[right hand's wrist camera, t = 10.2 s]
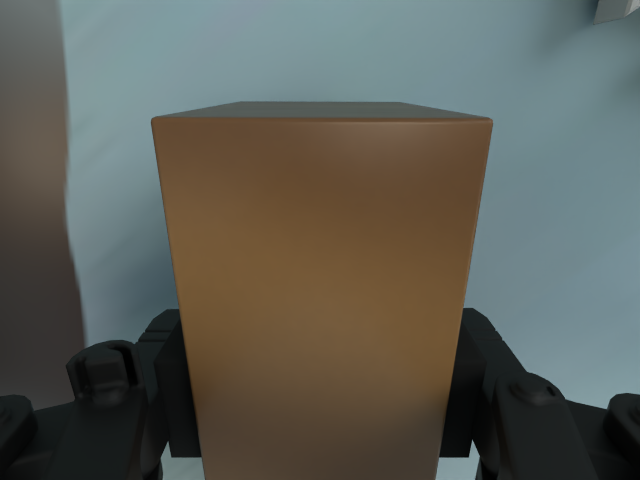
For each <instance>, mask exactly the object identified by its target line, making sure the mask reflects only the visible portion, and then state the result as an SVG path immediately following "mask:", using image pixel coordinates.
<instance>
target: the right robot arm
mask: <svg viewBox="0 0 640 480" xmlns="http://www.w3.org/2000/svg"><path fill="white" fill-rule="evenodd" d="M66 368H67V372H68V375H69V379H70V382H71V385H72V389H73V392H74V396H75V400H74V401H73V402H70V403H67V404H63V405H58V406H54V407H49V408H45V409H40V410H36V411H34V409H33V407H32V404H31V401H30V400H29V399H27V398H26V397H25V396H20V395H8V396H1V397H0V480H162V479H163V470H162V463H161V456H162V453H163V451H164V449H165V446H166V444H167V442H169V447H170V452H171V457H202V456H201V449H200V442H199V436H198V429H197V423H196V416H195V410H194V403H193V396H192V390H191V383H190V377H189V370H188V363H187V357H186V350H185V344H184V337H183V330H182V324H181V317H180V311H179V309H167V310H166V311H164V312H163V313H161V314H160V315H158V316H157V317H155V318H154V319H153V320H152V321H151V323H150V324H149V326H148V327H147V328H146V330H145V332H143V334H142V335H141V337H140V338H139V339H138V342H136V344H135V345H134V344H133V343H132V342H129V341H124V340H111V341H106V342H102V343H98V344H95V345H93V346H90V347H88V348H86V349H84V350H82V351H81V352H79V353H78V354H76V355H75V356H73V357H72V358H71V360H70V361H69V362H68V363H67V365H66ZM472 439H473V442H474V444H475V446H476V448H477V451H478V453H479V455H480V458H479V463H478V468H477V473H476V478H475V480H640V395H638V394H631V393H623V394H616V395H615V396H614V397H613V398H611V399H610V402H609V405H608V408H607V409H603V408H598V407H594V406H589V405H585V404H581V403H576V402H573V401H569V400H566V399H565V397H564V396H563V395H562V393H561V392H560V390H559V389H558V388H557V387H556V386H554V385H553V384H552V383H551V382H549V381H548V380H546V379H544V378H542V377H540V376H538V375H536V374H532V373H529V372H526V370H525V369H524V367H523V366H522V365H521V363H520V362H519V361H518V359H517V358H516V356H515V355H514V354H513V352H512V351H511V350H510V348H509V347H508V346H507V344H506V343H505V341H502V337H501V336H500V335H499V333H498V332H497V331H495V328H494V326H493V325H492V324H491V322H490V321H489V320H488V318H487V317H485V316H484V315H482V314H481V313H480V312H478V311H477V310H475V309H474V308H463V312H462V318H461V324H460V331H459V337H458V343H457V349H456V355H455V361H454V368H453V374H452V380H451V386H450V392H449V398H448V405H447V411H446V417H445V423H444V429H443V436H442V442H441V448H440V454H439V457H469V454H470V448H471V443H472Z"/></svg>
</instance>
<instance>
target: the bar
mask: <svg viewBox="0 0 640 480" xmlns="http://www.w3.org/2000/svg"><path fill="white" fill-rule="evenodd" d="M151 126H152V133H153V139H154V146H155V153H156V159H157V166H158V172H159V179H160V186H161V192H162V199H163V205H164V212H165V218H166V225H167V232H168V238H169V245H170V251H171V258H172V265H173V271H174V278H175V284H176V291H177V298H178V304H179V311H180V317H181V324H182V330H183V337H184V344H185V350H186V357H187V363H188V370H189V377H190V383H191V390H192V396H193V403H194V410H195V416H196V423H197V429H198V436H199V442H200V449H201V456H202V462H203V469H204V475H205V480H435V479H436V473H437V466H438V460H439V454H440V448H441V442H442V436H443V429H444V423H445V417H446V411H447V405H448V398H449V392H450V386H451V380H452V374H453V368H454V361H455V355H456V349H457V343H458V337H459V331H460V324H461V318H462V312H463V306H464V300H465V293H466V287H467V281H468V275H469V269H470V263H471V256H472V250H473V244H474V238H475V232H476V226H477V219H478V213H479V207H480V201H481V195H482V189H483V182H484V176H485V170H486V164H487V158H488V151H489V145H490V139H491V133H492V127H493V120H492V119H490V118H488V117H482V116H476V115H470V114H465V113H459V112H453V111H447V110H441V109H436V108H430V107H424V106H418V105H413V104H407V103H401V102H236V103H230V104H224V105H219V106H213V107H207V108H202V109H196V110H190V111H185V112H179V113H173V114H168V115H162V116H156V117H154V118H152V119H151Z"/></svg>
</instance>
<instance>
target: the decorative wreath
mask: <svg viewBox="0 0 640 480" xmlns="http://www.w3.org/2000/svg"><path fill="white" fill-rule="evenodd" d="M639 7H640V0H599V3H598V7H597V11H596V15H595V19H594V23H593V25H594V24H598V23H603V22H607V21H612V20H617V19H621V18H624V17H626V16H627V15H629V14H630V13H632V12H633V11H634V10H636V9H637V8H639Z"/></svg>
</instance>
